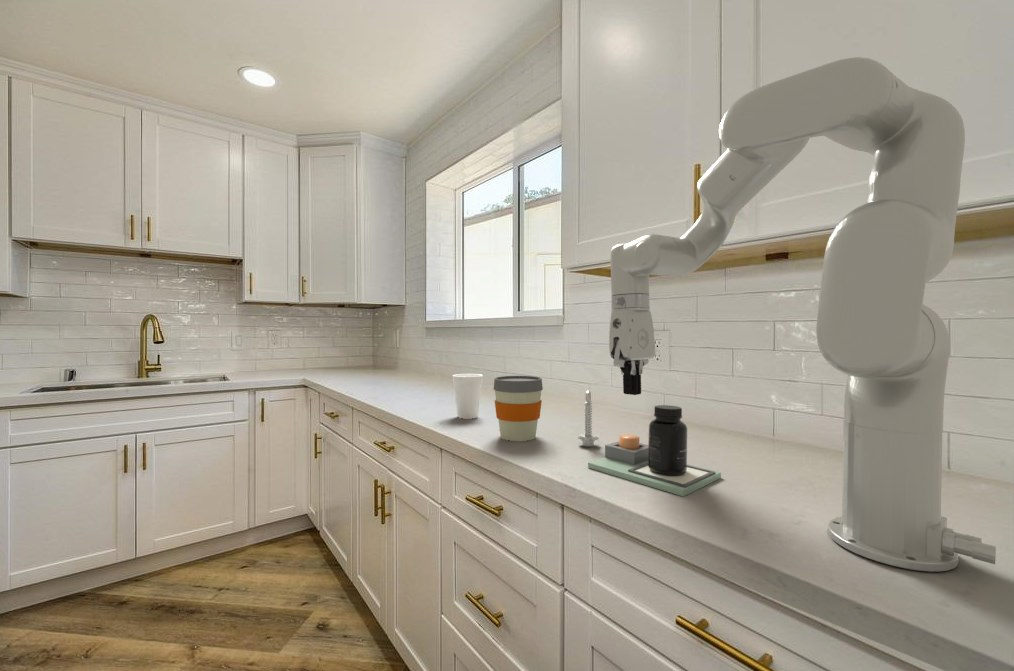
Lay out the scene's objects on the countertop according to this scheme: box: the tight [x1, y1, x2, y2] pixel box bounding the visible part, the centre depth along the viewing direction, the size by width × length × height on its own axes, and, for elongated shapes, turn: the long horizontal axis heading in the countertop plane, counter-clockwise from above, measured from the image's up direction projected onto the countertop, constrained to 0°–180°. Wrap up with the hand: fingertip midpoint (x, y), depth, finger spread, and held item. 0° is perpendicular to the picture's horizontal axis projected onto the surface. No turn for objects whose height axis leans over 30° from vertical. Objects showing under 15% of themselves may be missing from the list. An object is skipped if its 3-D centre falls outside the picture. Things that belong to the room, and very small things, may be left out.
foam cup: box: [452, 373, 484, 420], centre depth 139 cm, size 10×9×13 cm
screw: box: [577, 390, 599, 448], centre depth 105 cm, size 13×5×5 cm
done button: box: [618, 434, 640, 450], centre depth 92 cm, size 4×4×4 cm
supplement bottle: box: [648, 404, 688, 476], centre depth 83 cm, size 7×7×12 cm
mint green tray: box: [587, 440, 722, 497], centre depth 86 cm, size 20×14×4 cm
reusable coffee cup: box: [493, 375, 544, 442], centre depth 114 cm, size 12×13×15 cm
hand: (632, 393), depth 91 cm, fingers closed
